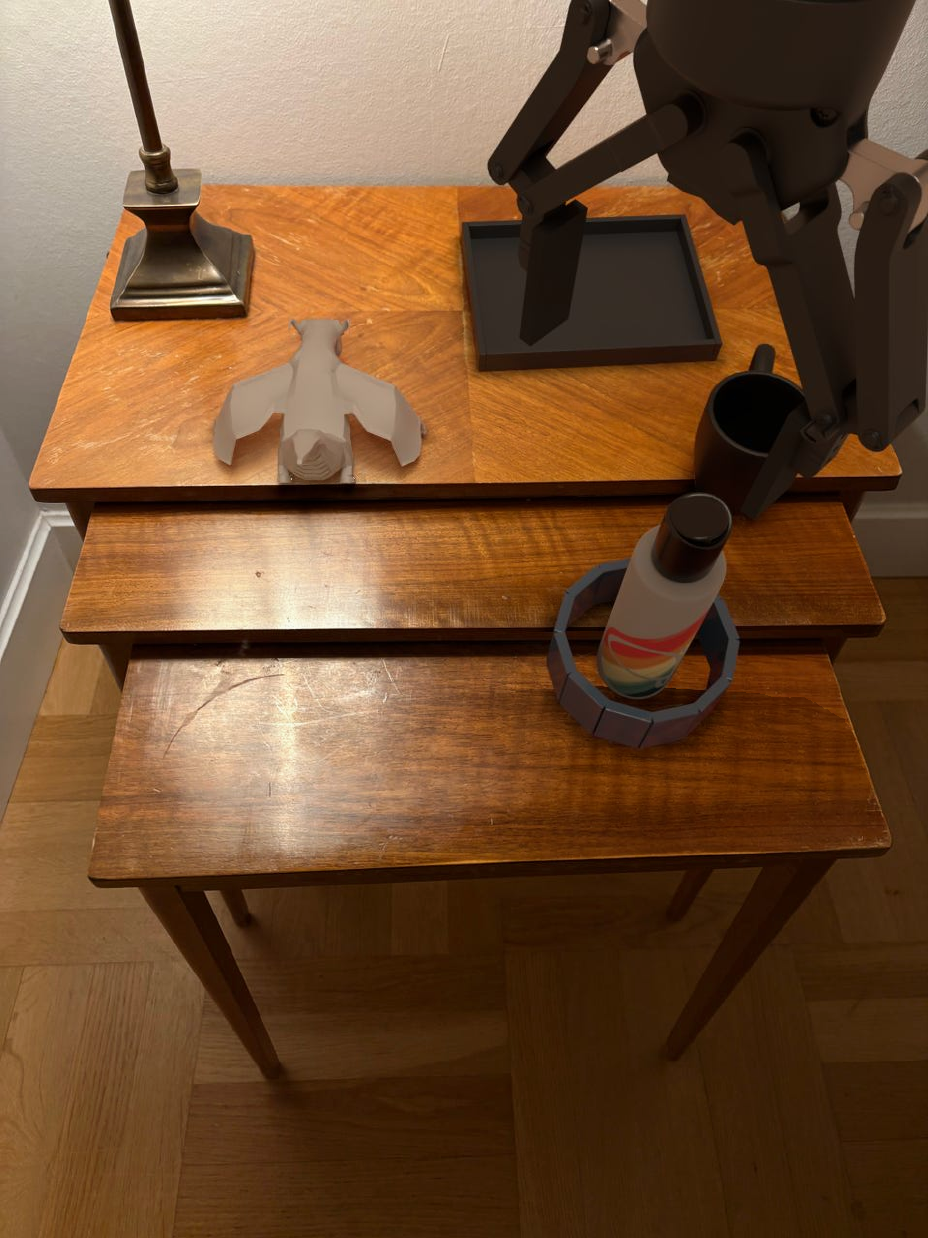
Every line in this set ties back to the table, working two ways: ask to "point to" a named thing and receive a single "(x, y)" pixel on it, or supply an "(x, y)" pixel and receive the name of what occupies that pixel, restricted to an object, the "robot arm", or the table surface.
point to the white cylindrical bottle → (665, 596)
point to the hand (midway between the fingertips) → (649, 410)
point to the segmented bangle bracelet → (620, 718)
